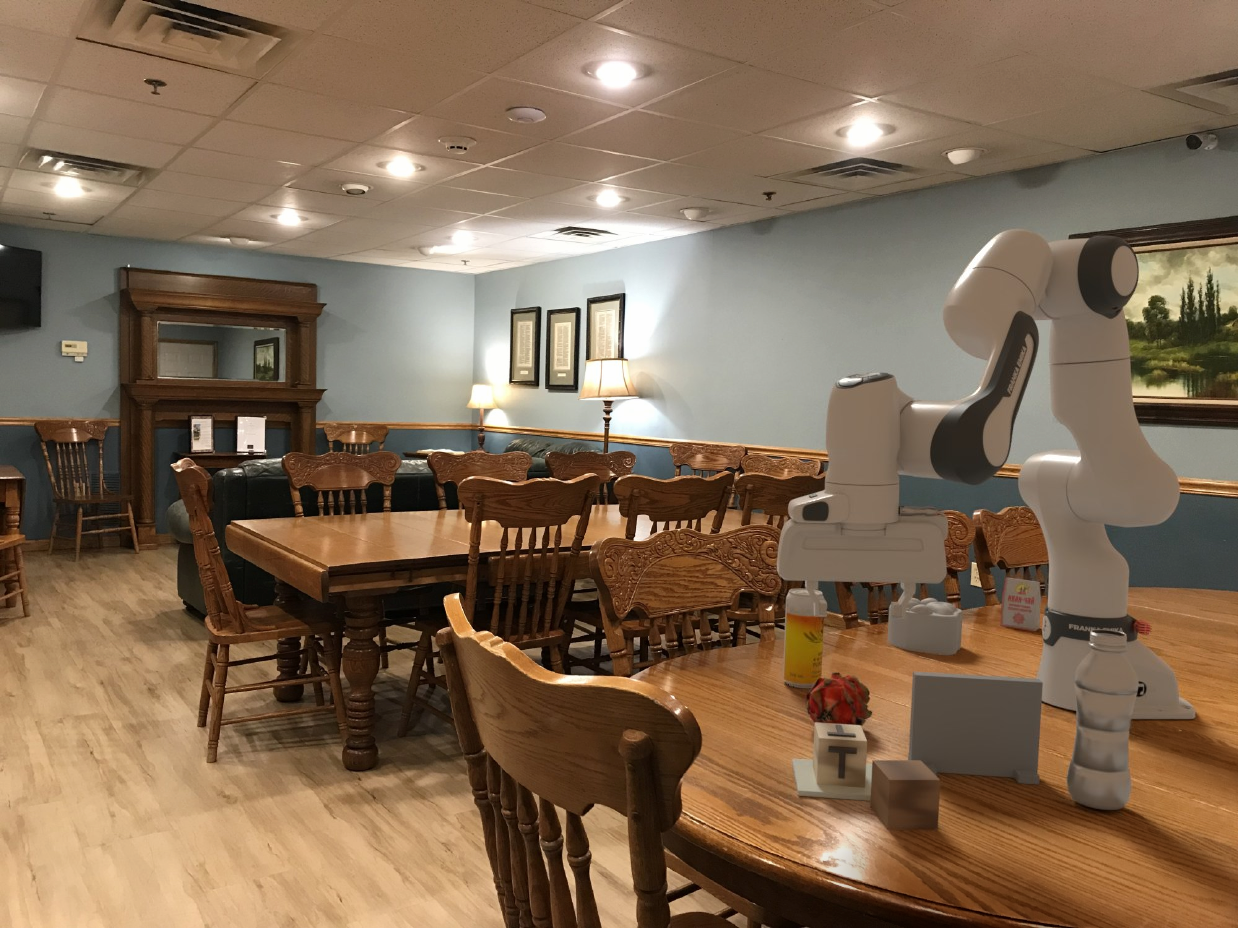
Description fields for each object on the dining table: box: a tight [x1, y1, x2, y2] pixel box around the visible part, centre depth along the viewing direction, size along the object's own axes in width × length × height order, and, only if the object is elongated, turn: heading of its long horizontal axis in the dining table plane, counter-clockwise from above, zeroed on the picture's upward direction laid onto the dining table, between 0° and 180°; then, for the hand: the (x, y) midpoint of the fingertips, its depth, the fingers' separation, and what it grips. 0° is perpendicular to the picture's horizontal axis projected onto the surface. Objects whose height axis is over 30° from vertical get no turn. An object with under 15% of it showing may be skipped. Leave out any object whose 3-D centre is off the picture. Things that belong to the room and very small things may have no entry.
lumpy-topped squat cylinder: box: [887, 597, 963, 656], centre depth 180 cm, size 10×13×9 cm
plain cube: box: [869, 759, 941, 831], centre depth 103 cm, size 6×6×6 cm
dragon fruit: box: [805, 671, 873, 727], centre depth 131 cm, size 8×8×12 cm
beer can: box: [782, 587, 826, 689], centre depth 152 cm, size 6×6×15 cm
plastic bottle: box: [1065, 629, 1139, 811], centre depth 108 cm, size 6×7×20 cm
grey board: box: [907, 671, 1043, 785], centre depth 117 cm, size 15×5×12 cm, turn 84°
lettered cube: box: [812, 722, 868, 788], centre depth 113 cm, size 6×6×6 cm
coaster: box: [791, 757, 872, 802], centre depth 113 cm, size 10×10×1 cm
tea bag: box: [999, 577, 1042, 632], centre depth 198 cm, size 4×7×10 cm, turn 51°
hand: (858, 616), depth 117 cm, fingers open, 8 cm apart
